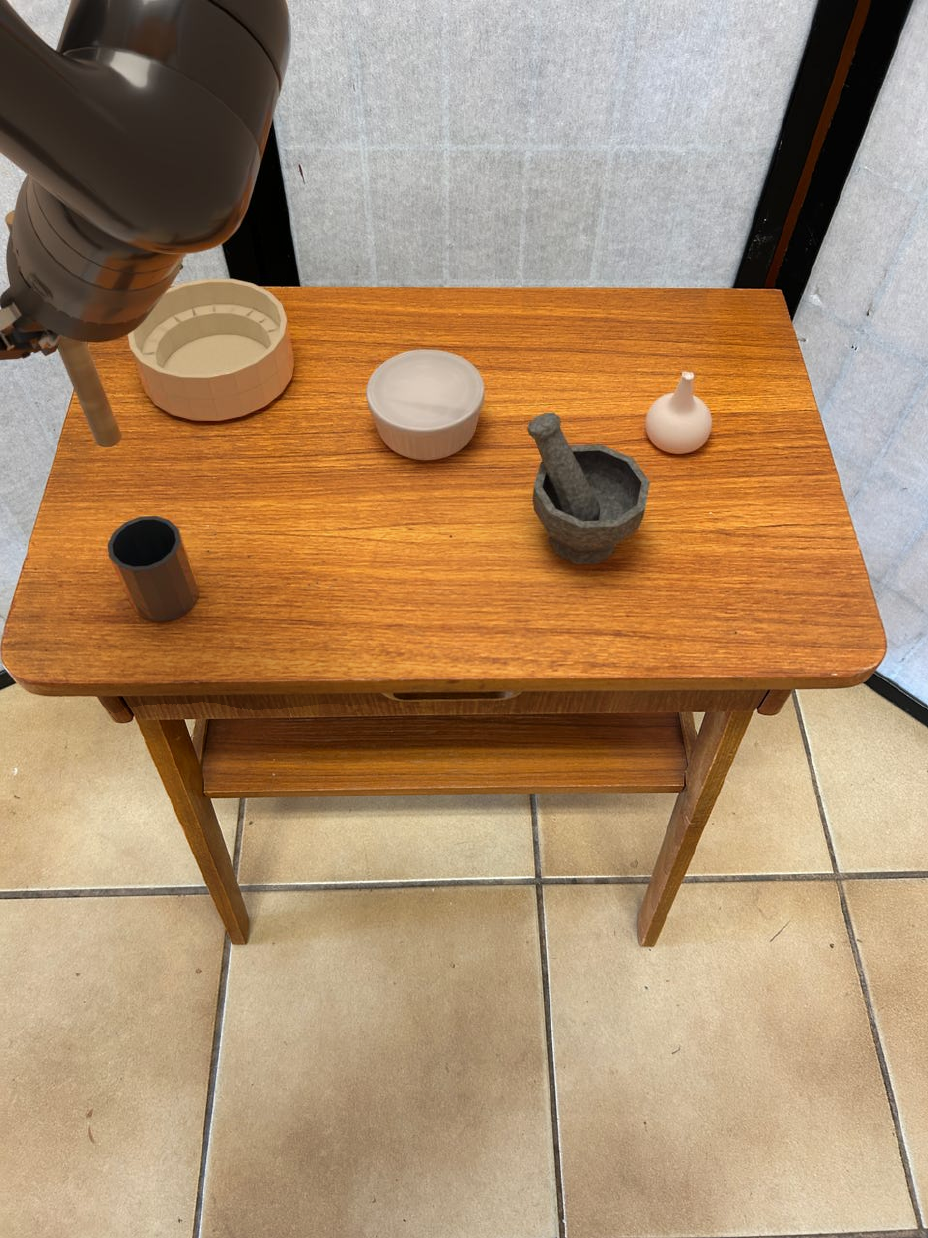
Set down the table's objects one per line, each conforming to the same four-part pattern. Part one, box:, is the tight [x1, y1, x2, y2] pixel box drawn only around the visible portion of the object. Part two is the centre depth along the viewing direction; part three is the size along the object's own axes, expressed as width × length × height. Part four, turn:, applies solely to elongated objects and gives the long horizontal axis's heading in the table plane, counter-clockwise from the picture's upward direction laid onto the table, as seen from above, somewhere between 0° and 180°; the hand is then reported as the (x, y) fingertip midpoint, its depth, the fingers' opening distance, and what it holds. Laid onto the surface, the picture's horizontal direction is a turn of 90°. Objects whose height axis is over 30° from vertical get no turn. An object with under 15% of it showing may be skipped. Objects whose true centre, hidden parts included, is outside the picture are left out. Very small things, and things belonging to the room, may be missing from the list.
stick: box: [4, 209, 122, 448], centre depth 60 cm, size 2×2×17 cm
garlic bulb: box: [644, 371, 713, 455], centre depth 90 cm, size 6×6×8 cm
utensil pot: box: [107, 515, 200, 623], centre depth 78 cm, size 6×6×7 cm
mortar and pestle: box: [526, 412, 651, 565], centre depth 81 cm, size 11×9×12 cm
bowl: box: [127, 278, 295, 422], centre depth 95 cm, size 15×15×6 cm
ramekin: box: [365, 349, 486, 461], centre depth 91 cm, size 11×11×5 cm
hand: (56, 331), depth 62 cm, fingers closed on stick, 2 cm apart
